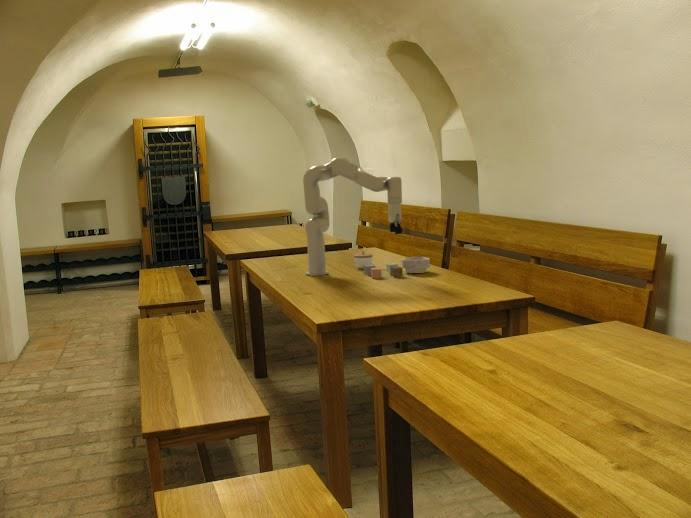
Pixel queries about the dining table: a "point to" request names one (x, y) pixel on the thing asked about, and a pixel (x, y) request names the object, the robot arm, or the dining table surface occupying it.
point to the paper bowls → (415, 264)
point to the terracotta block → (376, 273)
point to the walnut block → (396, 271)
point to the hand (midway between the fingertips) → (395, 232)
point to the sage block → (390, 266)
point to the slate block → (367, 269)
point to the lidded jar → (363, 259)
